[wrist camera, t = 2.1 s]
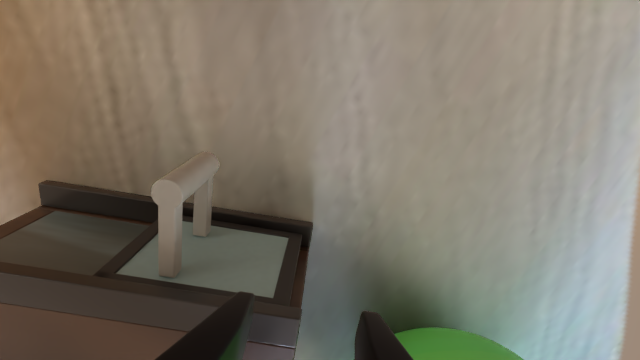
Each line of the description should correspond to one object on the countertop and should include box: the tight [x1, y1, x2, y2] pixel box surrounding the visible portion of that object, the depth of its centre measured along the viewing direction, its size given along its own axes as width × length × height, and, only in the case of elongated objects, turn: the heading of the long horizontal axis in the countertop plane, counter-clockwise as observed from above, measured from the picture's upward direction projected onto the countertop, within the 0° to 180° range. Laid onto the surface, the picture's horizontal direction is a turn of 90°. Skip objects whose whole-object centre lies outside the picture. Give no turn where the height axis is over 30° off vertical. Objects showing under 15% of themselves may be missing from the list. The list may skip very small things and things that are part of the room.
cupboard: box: [0, 180, 313, 360], centre depth 19 cm, size 11×18×9 cm, turn 81°
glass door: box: [92, 152, 302, 306], centre depth 17 cm, size 6×9×7 cm, turn 81°
